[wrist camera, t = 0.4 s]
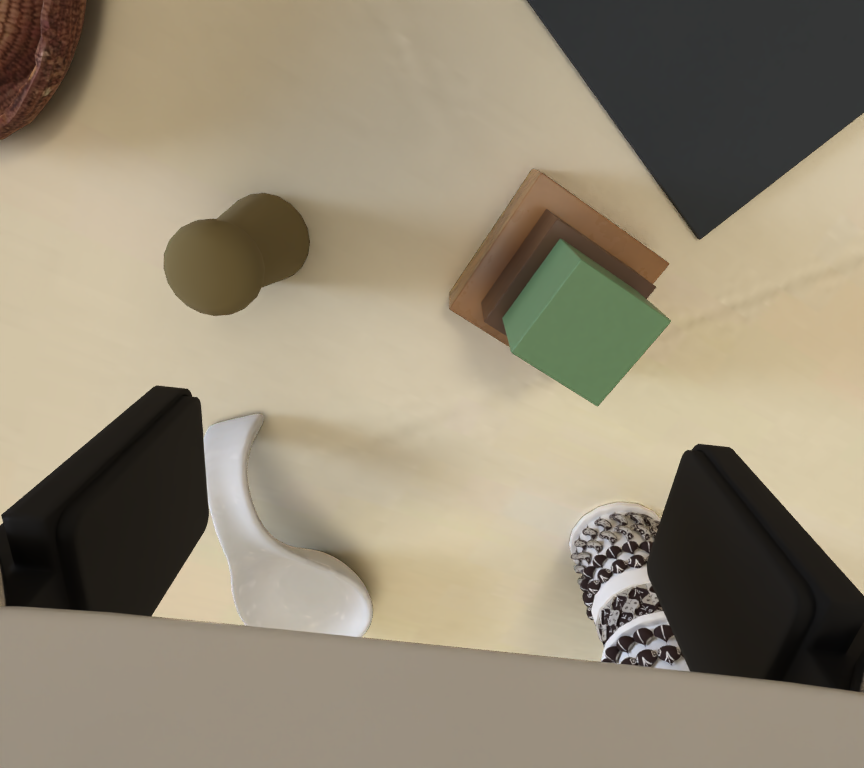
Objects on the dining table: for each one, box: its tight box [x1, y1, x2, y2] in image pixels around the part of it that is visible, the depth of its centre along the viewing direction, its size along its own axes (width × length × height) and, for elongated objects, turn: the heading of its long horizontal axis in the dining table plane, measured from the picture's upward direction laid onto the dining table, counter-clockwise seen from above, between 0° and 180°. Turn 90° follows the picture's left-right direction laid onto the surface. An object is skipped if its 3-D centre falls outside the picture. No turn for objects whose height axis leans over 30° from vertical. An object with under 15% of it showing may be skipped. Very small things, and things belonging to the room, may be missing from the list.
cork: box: [164, 193, 310, 316], centre depth 34 cm, size 6×6×11 cm
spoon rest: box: [203, 414, 373, 637], centre depth 46 cm, size 24×12×7 cm, turn 16°
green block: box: [502, 239, 671, 406], centre depth 30 cm, size 6×6×6 cm
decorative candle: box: [569, 502, 690, 671], centre depth 38 cm, size 9×9×25 cm
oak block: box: [449, 169, 669, 347], centre depth 38 cm, size 10×10×4 cm
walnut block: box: [481, 209, 656, 336], centre depth 34 cm, size 7×7×4 cm
